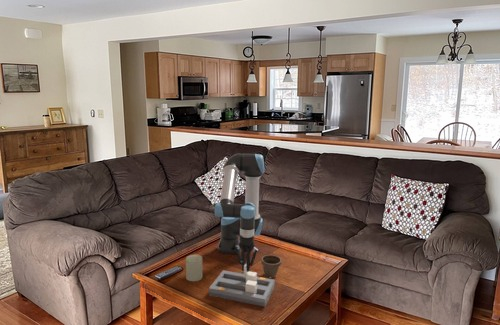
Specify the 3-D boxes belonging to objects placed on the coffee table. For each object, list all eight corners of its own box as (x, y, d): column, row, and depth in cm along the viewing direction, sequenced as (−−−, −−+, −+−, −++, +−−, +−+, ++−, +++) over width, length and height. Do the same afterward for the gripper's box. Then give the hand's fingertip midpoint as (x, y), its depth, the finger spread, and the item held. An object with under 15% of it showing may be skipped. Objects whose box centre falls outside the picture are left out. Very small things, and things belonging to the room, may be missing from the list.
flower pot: (284, 278, 212) (285, 261, 210) (266, 282, 207) (267, 265, 205) (273, 268, 222) (274, 253, 220) (257, 272, 217) (257, 256, 215)
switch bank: (223, 276, 211) (223, 269, 210) (274, 286, 202) (274, 279, 202) (208, 295, 192) (209, 287, 191) (265, 306, 184) (265, 299, 183)
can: (194, 283, 203) (194, 262, 201) (182, 277, 209) (182, 257, 206) (205, 276, 210) (206, 257, 208) (194, 271, 216) (194, 252, 213)
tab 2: (247, 290, 194) (247, 280, 192) (256, 292, 192) (257, 281, 191) (245, 294, 190) (245, 283, 189) (254, 296, 188) (255, 285, 187)
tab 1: (247, 281, 203) (248, 271, 202) (256, 282, 201) (257, 272, 200) (245, 284, 199) (245, 274, 198) (254, 286, 198) (255, 276, 196)
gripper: (232, 236, 194) (231, 277, 199) (256, 239, 190) (255, 282, 195) (237, 230, 201) (236, 271, 206) (260, 234, 197) (259, 275, 202)
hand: (245, 276), depth 200 cm, fingers closed
